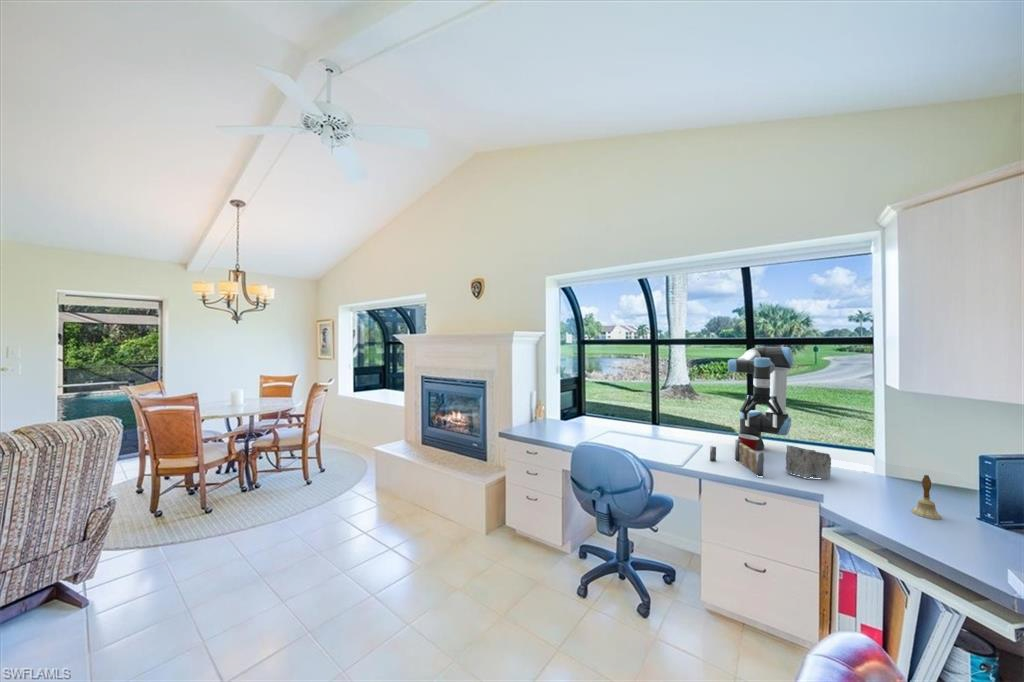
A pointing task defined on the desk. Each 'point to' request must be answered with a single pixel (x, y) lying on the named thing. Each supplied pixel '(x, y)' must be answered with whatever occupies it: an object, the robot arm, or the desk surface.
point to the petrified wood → (808, 463)
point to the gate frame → (759, 457)
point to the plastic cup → (749, 440)
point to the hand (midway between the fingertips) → (760, 426)
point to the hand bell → (926, 502)
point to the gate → (747, 456)
